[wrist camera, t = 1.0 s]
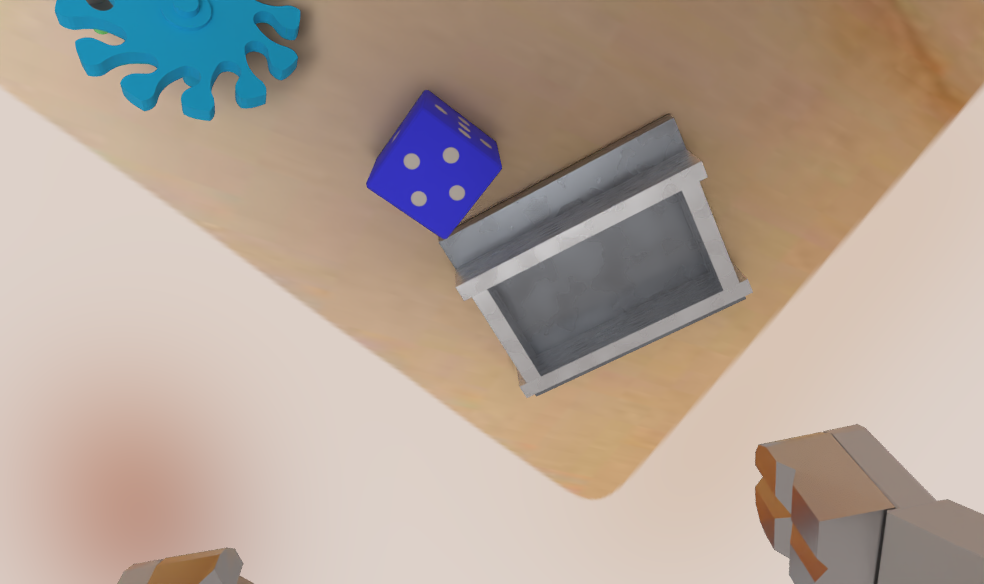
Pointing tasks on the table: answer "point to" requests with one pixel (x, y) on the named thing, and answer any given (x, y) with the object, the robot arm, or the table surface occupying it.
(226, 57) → the gear
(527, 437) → the table surface
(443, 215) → the die
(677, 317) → the open chest
